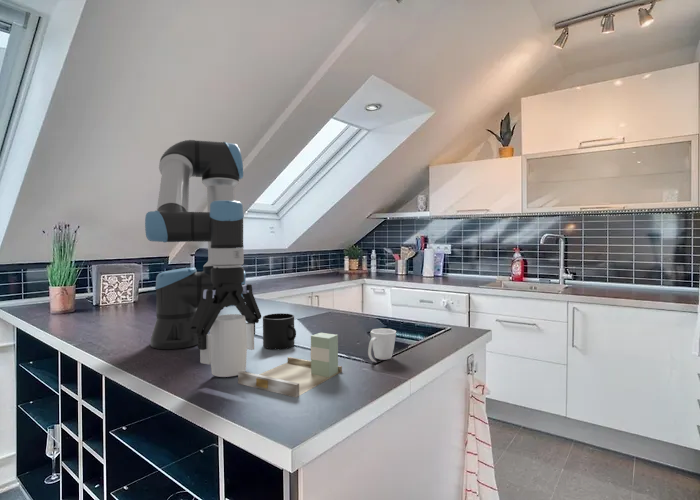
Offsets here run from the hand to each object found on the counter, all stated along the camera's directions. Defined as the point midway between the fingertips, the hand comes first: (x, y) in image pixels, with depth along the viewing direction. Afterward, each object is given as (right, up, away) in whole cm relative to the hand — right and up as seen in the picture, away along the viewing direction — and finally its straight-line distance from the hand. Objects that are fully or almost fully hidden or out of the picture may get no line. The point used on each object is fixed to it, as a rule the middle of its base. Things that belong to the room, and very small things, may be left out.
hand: (228, 355), depth 96 cm
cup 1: (0, -5, 0) cm, 5 cm away
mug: (+8, -4, +27) cm, 28 cm away
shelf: (+15, -5, -3) cm, 16 cm away
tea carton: (+23, -4, 0) cm, 23 cm away
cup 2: (+37, -5, +11) cm, 38 cm away
